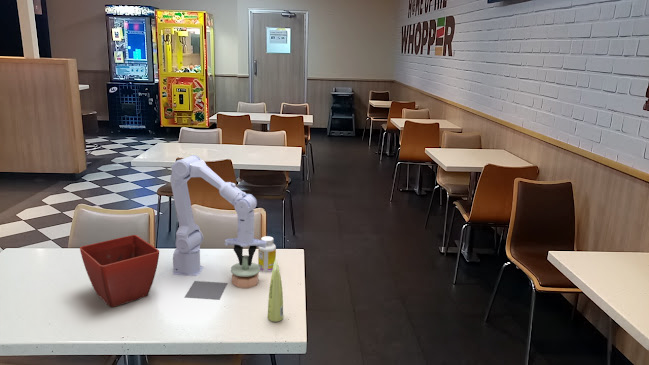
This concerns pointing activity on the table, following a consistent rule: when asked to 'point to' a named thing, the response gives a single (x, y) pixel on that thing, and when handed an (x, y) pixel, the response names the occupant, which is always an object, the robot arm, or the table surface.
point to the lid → (245, 268)
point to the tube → (275, 295)
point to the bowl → (245, 281)
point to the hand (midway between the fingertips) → (245, 264)
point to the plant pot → (121, 268)
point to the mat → (206, 290)
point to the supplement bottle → (267, 255)
